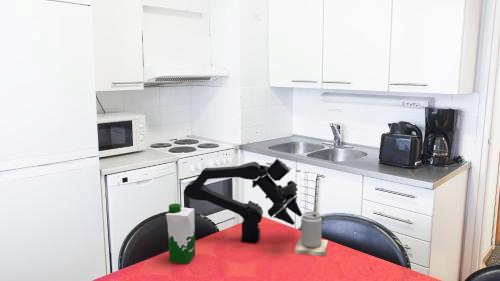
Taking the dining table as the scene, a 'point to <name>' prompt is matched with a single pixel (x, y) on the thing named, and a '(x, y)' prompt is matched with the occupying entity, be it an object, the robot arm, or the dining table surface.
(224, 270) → the dining table surface
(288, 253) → the dining table surface
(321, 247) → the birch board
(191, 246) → the milk carton
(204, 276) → the dining table surface
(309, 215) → the can
